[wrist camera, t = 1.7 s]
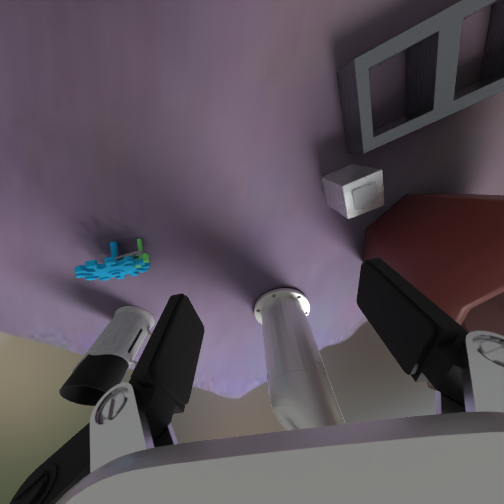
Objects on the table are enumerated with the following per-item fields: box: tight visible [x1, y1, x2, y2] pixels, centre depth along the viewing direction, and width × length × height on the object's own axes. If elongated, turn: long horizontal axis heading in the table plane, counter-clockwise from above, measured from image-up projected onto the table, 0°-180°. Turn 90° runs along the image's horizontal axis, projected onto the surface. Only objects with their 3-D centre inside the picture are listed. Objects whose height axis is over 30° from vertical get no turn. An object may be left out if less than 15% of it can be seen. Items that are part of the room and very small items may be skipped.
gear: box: [74, 239, 150, 281], centre depth 31 cm, size 11×6×10 cm
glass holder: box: [60, 306, 155, 406], centre depth 36 cm, size 9×14×15 cm, turn 82°
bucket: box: [363, 193, 504, 391], centre depth 22 cm, size 24×22×25 cm
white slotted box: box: [321, 164, 384, 219], centre depth 25 cm, size 4×4×7 cm
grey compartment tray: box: [337, 0, 504, 154], centre depth 19 cm, size 26×9×4 cm, turn 114°
